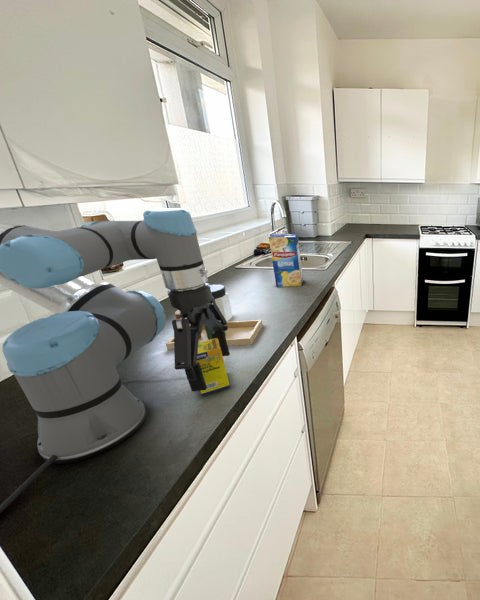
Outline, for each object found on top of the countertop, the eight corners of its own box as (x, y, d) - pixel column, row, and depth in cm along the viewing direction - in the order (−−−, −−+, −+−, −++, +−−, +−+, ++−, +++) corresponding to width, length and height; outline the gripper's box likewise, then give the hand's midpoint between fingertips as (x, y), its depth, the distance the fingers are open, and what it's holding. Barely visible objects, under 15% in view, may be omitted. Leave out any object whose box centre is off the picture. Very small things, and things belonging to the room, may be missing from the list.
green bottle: (222, 340, 93) (213, 305, 89) (205, 341, 93) (195, 305, 88) (228, 332, 98) (220, 298, 93) (211, 333, 97) (203, 299, 93)
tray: (251, 346, 91) (250, 338, 90) (168, 352, 88) (165, 343, 87) (263, 327, 103) (261, 319, 102) (189, 331, 100) (187, 323, 99)
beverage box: (301, 285, 141) (295, 236, 132) (276, 286, 139) (268, 237, 131) (303, 280, 147) (297, 233, 138) (279, 282, 145) (271, 234, 137)
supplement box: (230, 387, 74) (220, 347, 70) (201, 397, 71) (189, 356, 66) (227, 375, 78) (217, 337, 74) (199, 383, 75) (188, 344, 71)
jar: (204, 329, 101) (195, 294, 97) (202, 320, 108) (194, 287, 103) (234, 322, 106) (227, 289, 101) (231, 314, 112) (224, 282, 108)
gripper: (176, 308, 54) (206, 406, 62) (229, 268, 77) (246, 343, 85) (128, 311, 53) (165, 409, 61) (196, 269, 76) (217, 345, 84)
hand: (212, 371), depth 73 cm, fingers open, 13 cm apart
